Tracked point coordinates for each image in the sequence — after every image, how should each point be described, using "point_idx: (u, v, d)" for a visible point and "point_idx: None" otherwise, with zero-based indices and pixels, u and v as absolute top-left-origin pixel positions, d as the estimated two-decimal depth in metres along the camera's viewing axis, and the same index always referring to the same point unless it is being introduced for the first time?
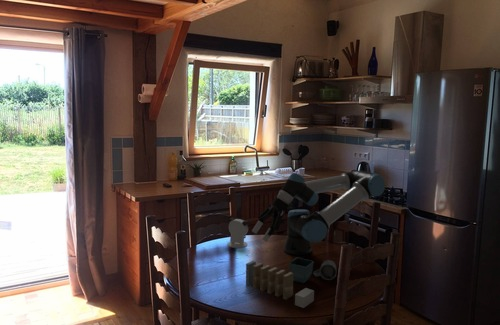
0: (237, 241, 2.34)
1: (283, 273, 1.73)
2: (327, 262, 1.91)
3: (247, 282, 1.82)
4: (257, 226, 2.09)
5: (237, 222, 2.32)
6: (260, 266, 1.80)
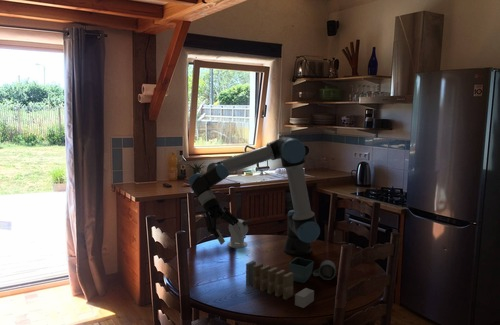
0: (237, 241, 2.34)
1: (283, 273, 1.73)
2: (326, 262, 1.91)
3: (247, 282, 1.82)
4: (236, 231, 1.95)
5: None
6: (260, 266, 1.80)
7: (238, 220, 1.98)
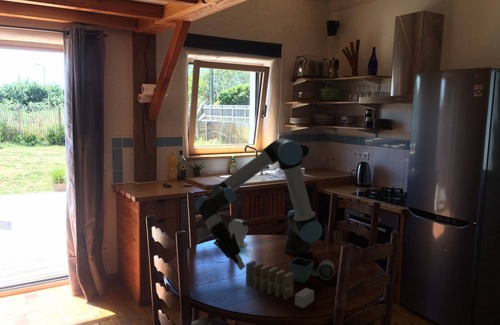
0: (237, 241, 2.34)
1: (283, 273, 1.73)
2: (325, 262, 1.91)
3: (247, 282, 1.82)
4: None
5: (237, 222, 2.32)
6: (260, 266, 1.80)
7: (240, 251, 1.91)
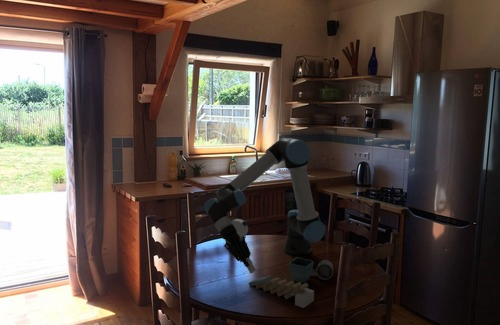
0: None
1: (298, 287, 1.69)
2: (324, 262, 1.91)
3: (251, 284, 1.80)
4: None
5: (237, 222, 2.32)
6: (276, 282, 1.76)
7: (250, 254, 1.87)
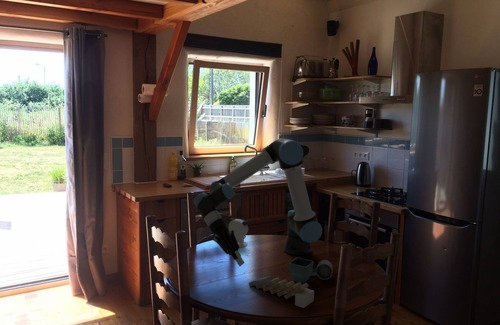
0: (237, 241, 2.34)
1: (298, 287, 1.69)
2: (323, 262, 1.91)
3: (251, 284, 1.80)
4: None
5: (237, 222, 2.32)
6: (276, 282, 1.76)
7: (239, 247, 1.91)
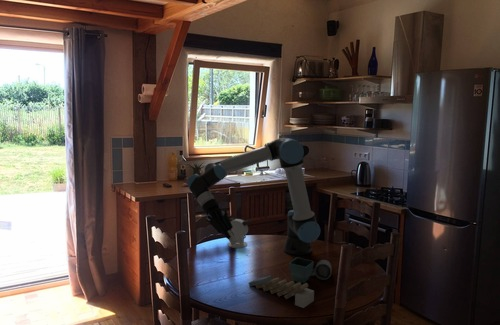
0: None
1: (298, 287, 1.69)
2: (322, 262, 1.91)
3: (251, 284, 1.80)
4: None
5: (237, 222, 2.32)
6: (276, 282, 1.76)
7: (232, 226, 1.92)
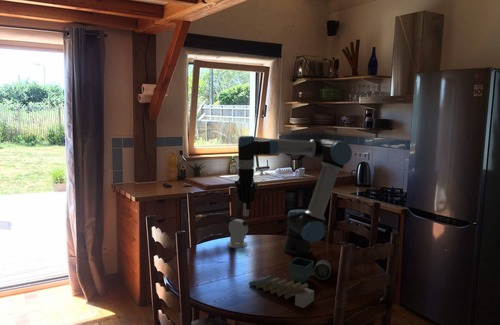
0: (237, 241, 2.34)
1: (298, 287, 1.69)
2: (321, 262, 1.91)
3: (251, 284, 1.80)
4: None
5: (237, 222, 2.32)
6: (276, 282, 1.76)
7: None
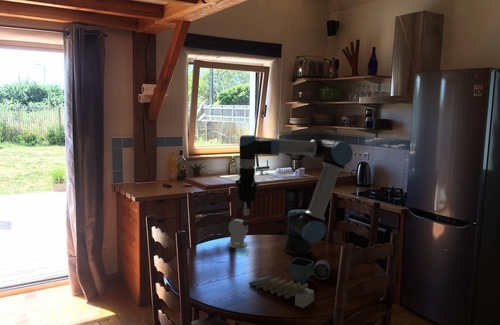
0: (237, 241, 2.34)
1: (298, 287, 1.69)
2: (321, 261, 1.91)
3: (251, 284, 1.80)
4: None
5: (237, 222, 2.32)
6: (276, 282, 1.76)
7: None
